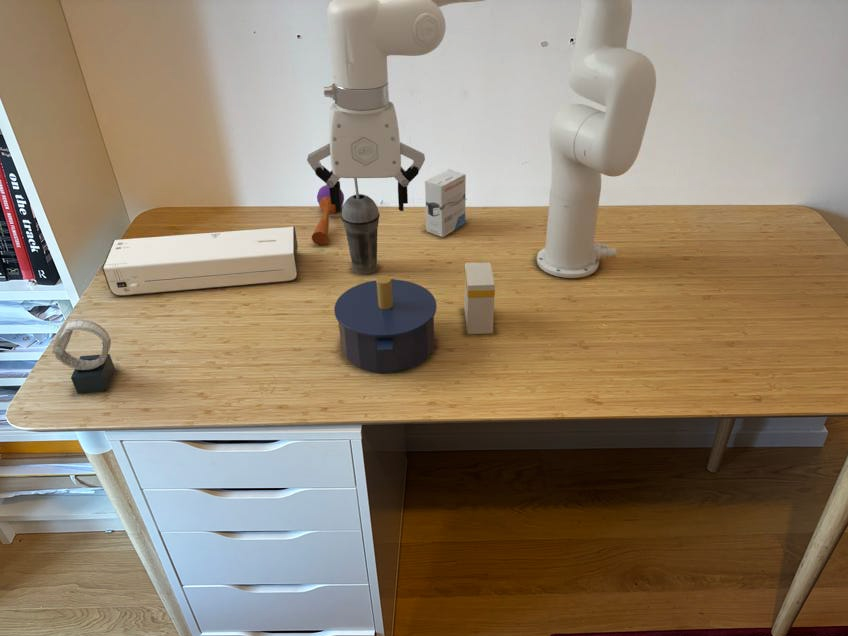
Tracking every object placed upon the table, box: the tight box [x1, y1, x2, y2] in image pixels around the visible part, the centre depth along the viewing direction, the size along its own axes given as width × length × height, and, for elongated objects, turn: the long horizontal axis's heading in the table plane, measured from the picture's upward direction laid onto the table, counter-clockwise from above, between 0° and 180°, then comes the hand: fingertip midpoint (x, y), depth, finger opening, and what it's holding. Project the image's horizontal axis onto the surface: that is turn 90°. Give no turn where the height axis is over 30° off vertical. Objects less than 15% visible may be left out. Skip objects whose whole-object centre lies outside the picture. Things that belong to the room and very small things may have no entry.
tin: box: [337, 278, 435, 374], centre depth 120 cm, size 16×21×8 cm
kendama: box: [311, 184, 345, 246], centre depth 156 cm, size 6×6×20 cm
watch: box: [51, 318, 116, 394], centre depth 110 cm, size 6×8×11 cm
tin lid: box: [333, 275, 437, 337], centre depth 116 cm, size 17×17×6 cm
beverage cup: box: [340, 178, 380, 275], centre depth 136 cm, size 7×7×20 cm
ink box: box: [424, 169, 467, 238], centre depth 154 cm, size 8×5×12 cm, turn 144°
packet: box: [464, 262, 496, 335], centre depth 125 cm, size 5×8×10 cm, turn 5°
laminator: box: [101, 226, 299, 297], centre depth 137 cm, size 34×12×6 cm, turn 102°
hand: (370, 207), depth 111 cm, fingers open, 9 cm apart
